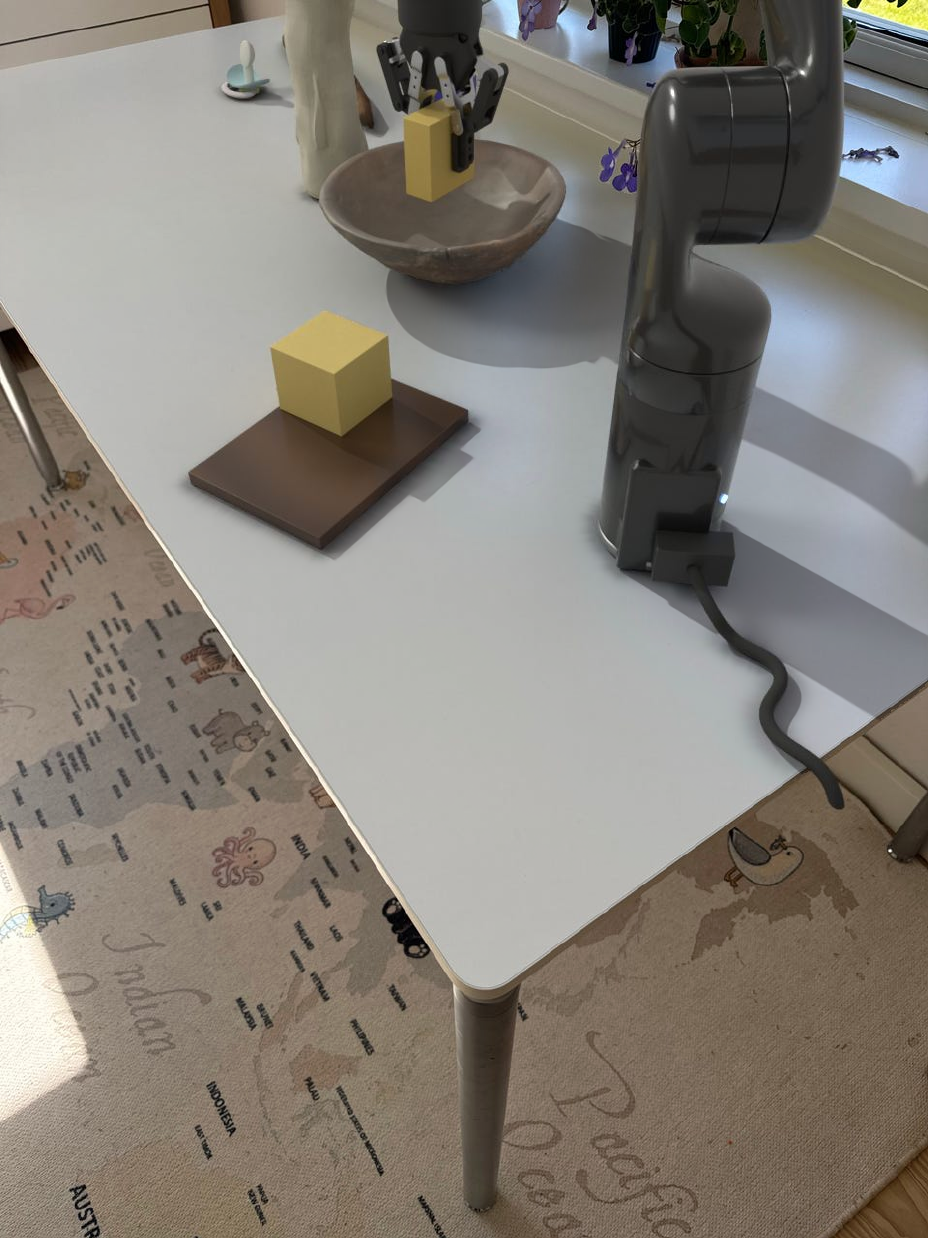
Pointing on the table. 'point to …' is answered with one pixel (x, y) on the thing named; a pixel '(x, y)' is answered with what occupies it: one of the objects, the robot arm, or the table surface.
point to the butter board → (327, 463)
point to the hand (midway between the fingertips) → (443, 163)
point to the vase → (323, 87)
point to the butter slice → (431, 153)
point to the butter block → (332, 372)
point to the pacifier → (244, 75)
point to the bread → (360, 103)
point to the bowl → (445, 212)
